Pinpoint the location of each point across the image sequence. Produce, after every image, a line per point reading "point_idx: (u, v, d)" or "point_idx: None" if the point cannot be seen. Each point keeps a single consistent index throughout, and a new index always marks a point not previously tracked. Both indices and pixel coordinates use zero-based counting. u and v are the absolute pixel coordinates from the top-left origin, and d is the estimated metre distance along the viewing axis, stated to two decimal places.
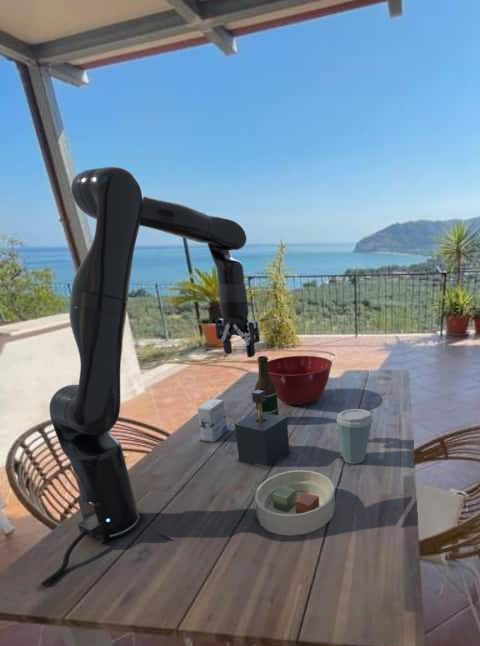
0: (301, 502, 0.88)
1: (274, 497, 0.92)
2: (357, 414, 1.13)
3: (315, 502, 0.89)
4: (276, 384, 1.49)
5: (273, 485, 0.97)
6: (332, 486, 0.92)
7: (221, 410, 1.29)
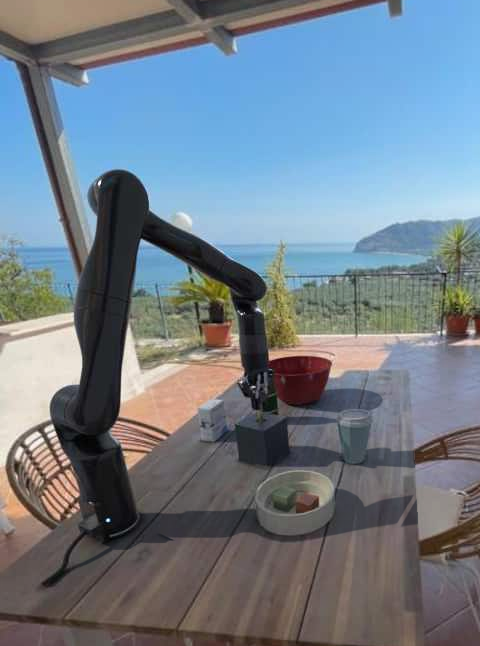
0: (301, 502, 0.88)
1: (274, 497, 0.92)
2: (357, 414, 1.13)
3: (315, 502, 0.89)
4: (276, 384, 1.49)
5: (273, 485, 0.97)
6: (332, 486, 0.92)
7: (221, 410, 1.29)
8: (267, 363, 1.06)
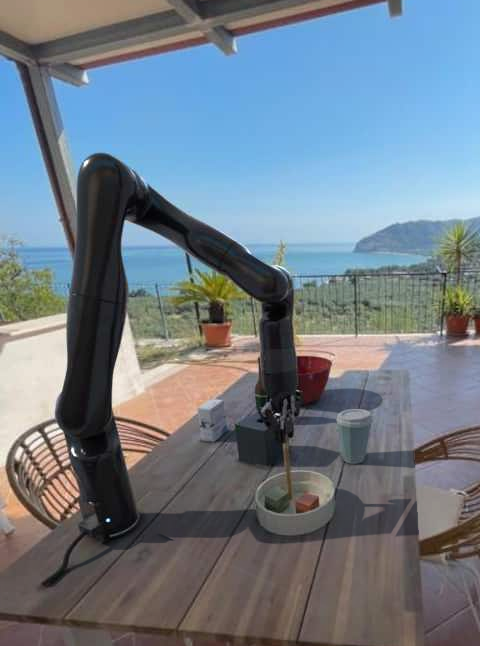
0: (301, 502, 0.88)
1: (266, 498, 0.91)
2: (357, 414, 1.13)
3: (315, 502, 0.89)
4: None
5: (273, 485, 0.97)
6: (332, 486, 0.92)
7: (221, 410, 1.29)
8: (296, 384, 0.82)
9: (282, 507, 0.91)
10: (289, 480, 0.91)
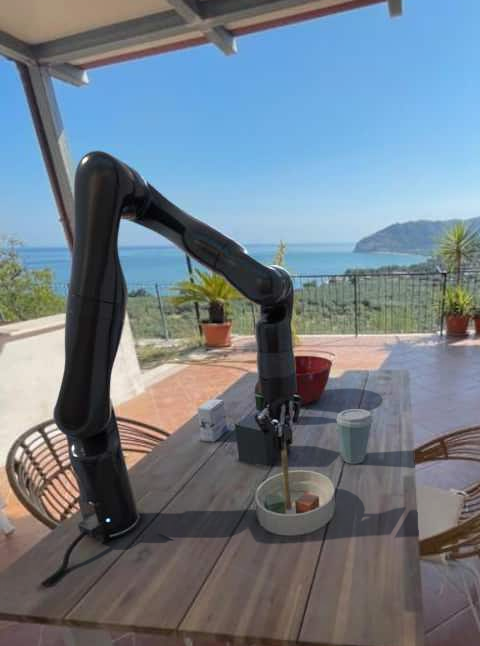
0: (301, 502, 0.88)
1: (265, 499, 0.91)
2: (357, 414, 1.13)
3: (315, 502, 0.89)
4: None
5: (273, 485, 0.97)
6: (332, 486, 0.92)
7: (221, 410, 1.29)
8: (294, 389, 0.78)
9: None
10: (288, 489, 0.88)
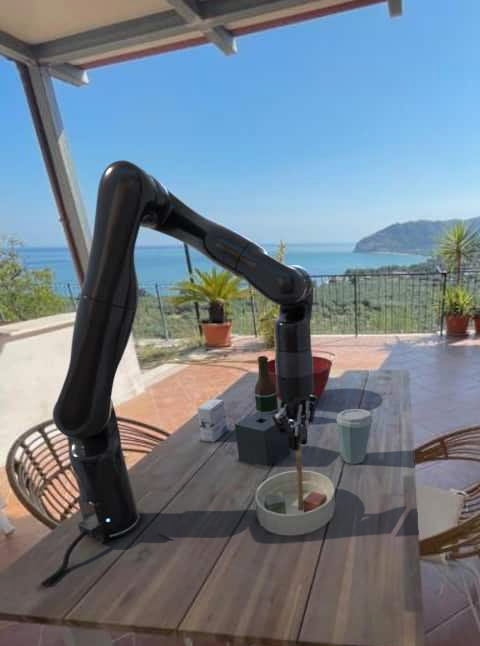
0: (309, 501, 0.89)
1: (265, 499, 0.91)
2: (357, 414, 1.13)
3: (323, 501, 0.90)
4: None
5: (273, 485, 0.97)
6: (332, 486, 0.92)
7: (221, 410, 1.29)
8: (312, 389, 0.79)
9: None
10: (301, 489, 0.87)
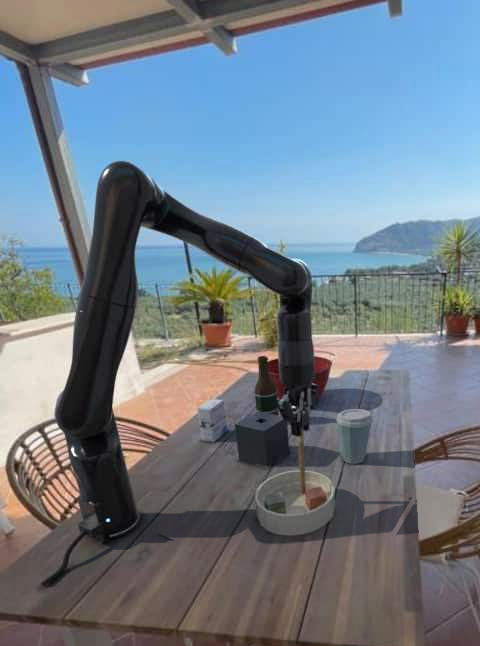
0: (307, 493, 0.92)
1: (265, 499, 0.91)
2: (357, 414, 1.13)
3: (319, 499, 0.91)
4: (276, 384, 1.49)
5: (273, 485, 0.97)
6: (332, 486, 0.92)
7: (221, 410, 1.29)
8: (313, 377, 0.82)
9: None
10: (303, 473, 0.92)
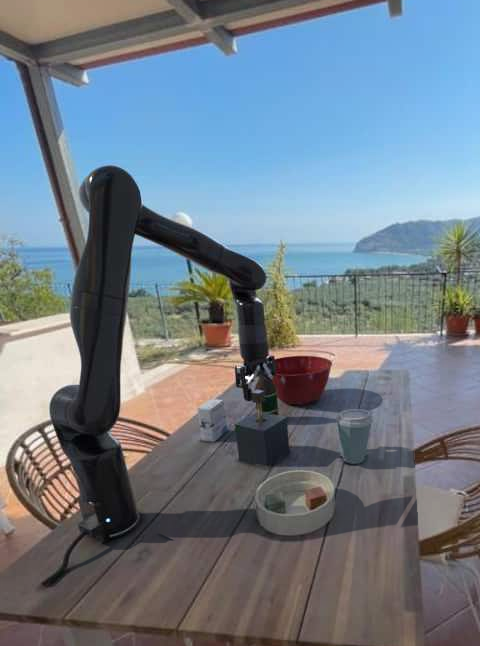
0: (307, 493, 0.92)
1: (265, 499, 0.91)
2: (357, 414, 1.13)
3: (319, 499, 0.91)
4: (276, 384, 1.49)
5: (273, 485, 0.97)
6: (332, 486, 0.92)
7: (221, 410, 1.29)
8: (266, 354, 1.05)
9: None
10: None
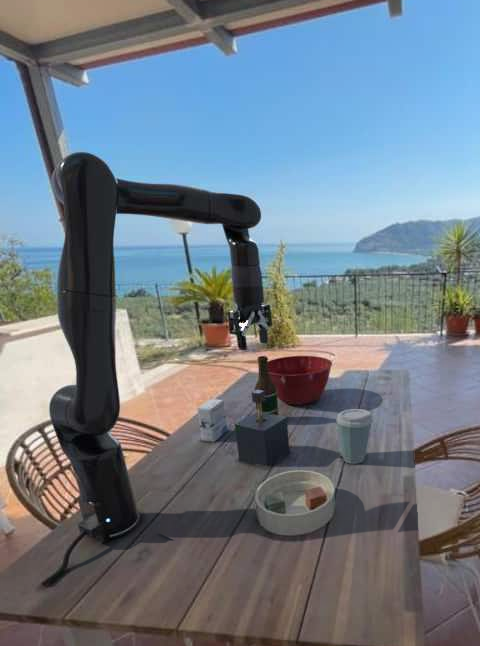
0: (307, 493, 0.92)
1: (265, 499, 0.91)
2: (357, 414, 1.13)
3: (319, 499, 0.91)
4: (276, 384, 1.49)
5: (273, 485, 0.97)
6: (332, 486, 0.92)
7: (221, 410, 1.29)
8: (261, 299, 1.00)
9: None
10: None
